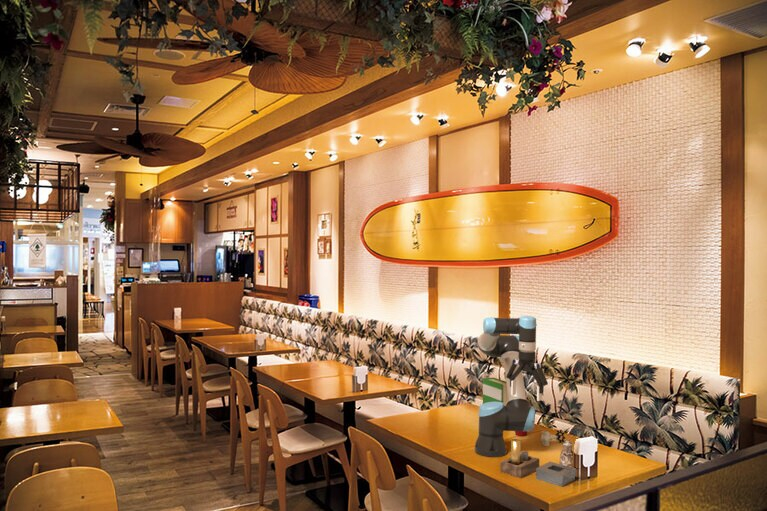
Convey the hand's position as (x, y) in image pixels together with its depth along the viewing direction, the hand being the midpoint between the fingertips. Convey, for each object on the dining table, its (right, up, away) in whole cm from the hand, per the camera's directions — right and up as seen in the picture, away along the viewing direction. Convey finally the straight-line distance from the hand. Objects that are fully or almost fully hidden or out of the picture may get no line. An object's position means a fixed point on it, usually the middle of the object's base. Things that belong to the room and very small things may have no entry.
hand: (526, 397), depth 270 cm
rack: (-5, -30, -8) cm, 32 cm away
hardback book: (-1, -31, +66) cm, 73 cm away
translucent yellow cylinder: (-7, -30, -11) cm, 33 cm away
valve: (+20, -31, +31) cm, 48 cm away
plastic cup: (+8, -31, +45) cm, 55 cm away
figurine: (+18, -31, -3) cm, 36 cm away
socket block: (+8, -30, -18) cm, 36 cm away
